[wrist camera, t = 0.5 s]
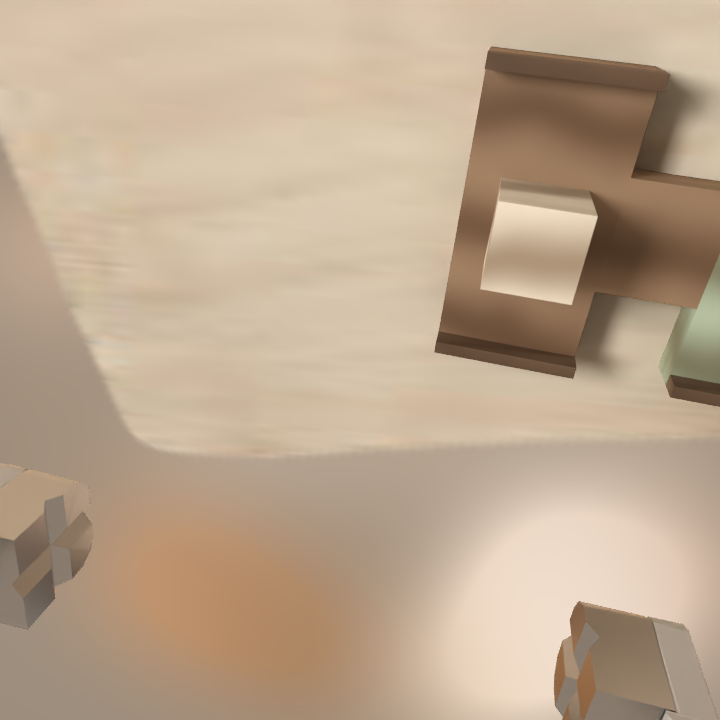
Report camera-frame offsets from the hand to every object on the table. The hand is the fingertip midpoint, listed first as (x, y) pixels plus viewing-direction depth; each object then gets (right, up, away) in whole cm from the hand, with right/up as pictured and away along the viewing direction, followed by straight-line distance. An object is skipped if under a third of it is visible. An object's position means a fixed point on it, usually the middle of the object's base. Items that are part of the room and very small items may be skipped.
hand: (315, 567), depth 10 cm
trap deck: (+18, +11, +29) cm, 36 cm away
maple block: (+11, +11, +27) cm, 32 cm away
